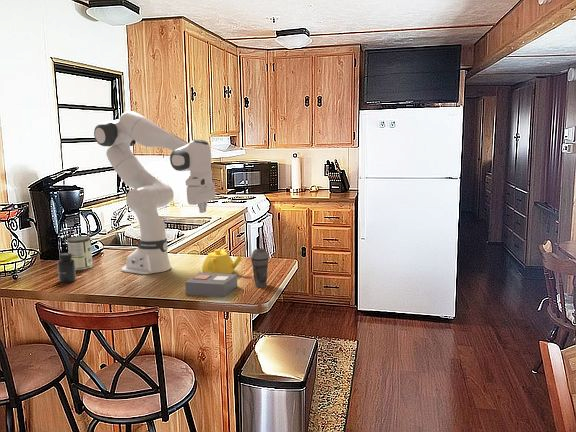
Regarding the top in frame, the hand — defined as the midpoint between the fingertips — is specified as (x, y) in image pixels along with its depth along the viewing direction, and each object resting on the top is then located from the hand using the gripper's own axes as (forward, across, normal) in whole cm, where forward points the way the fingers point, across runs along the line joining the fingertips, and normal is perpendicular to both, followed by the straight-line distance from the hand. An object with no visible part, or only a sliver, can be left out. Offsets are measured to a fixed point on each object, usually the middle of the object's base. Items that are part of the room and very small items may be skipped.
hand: (202, 212), depth 219 cm
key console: (+29, +14, +9) cm, 33 cm away
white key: (+26, +14, +13) cm, 32 cm away
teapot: (+29, -9, +4) cm, 31 cm away
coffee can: (+30, -6, -67) cm, 73 cm away
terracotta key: (+26, +14, +5) cm, 30 cm away
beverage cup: (+29, +4, +26) cm, 39 cm away
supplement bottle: (+29, +15, -58) cm, 67 cm away
